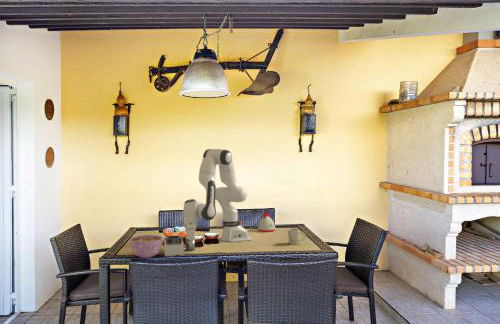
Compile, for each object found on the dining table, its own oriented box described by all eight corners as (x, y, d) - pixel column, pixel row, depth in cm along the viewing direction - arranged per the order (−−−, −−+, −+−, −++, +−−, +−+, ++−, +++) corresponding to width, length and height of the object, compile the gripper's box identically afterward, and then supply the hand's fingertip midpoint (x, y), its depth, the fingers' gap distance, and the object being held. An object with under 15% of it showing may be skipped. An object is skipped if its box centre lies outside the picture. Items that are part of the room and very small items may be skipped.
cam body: (182, 248, 286) (182, 234, 286) (183, 255, 269) (183, 240, 268) (164, 249, 284) (164, 235, 283) (164, 256, 266) (164, 241, 266)
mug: (287, 242, 303) (287, 228, 303) (304, 241, 303) (304, 228, 303) (288, 244, 295) (288, 230, 294) (306, 244, 295) (306, 230, 295)
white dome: (255, 231, 343) (254, 212, 342) (263, 228, 355) (263, 210, 354) (270, 232, 336) (269, 214, 335) (278, 229, 347) (278, 211, 347)
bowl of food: (153, 251, 280) (153, 233, 280) (168, 256, 265) (168, 238, 265) (124, 256, 267) (124, 238, 266) (139, 262, 252) (139, 243, 251)
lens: (194, 248, 286) (194, 235, 286) (195, 250, 280) (195, 237, 280) (185, 249, 285) (185, 235, 284) (186, 251, 279) (185, 237, 278)
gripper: (184, 221, 291) (184, 241, 291) (186, 226, 271) (186, 248, 271) (193, 221, 292) (194, 240, 293) (196, 226, 272) (196, 247, 273)
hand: (190, 244), depth 282 cm, fingers open, 8 cm apart
